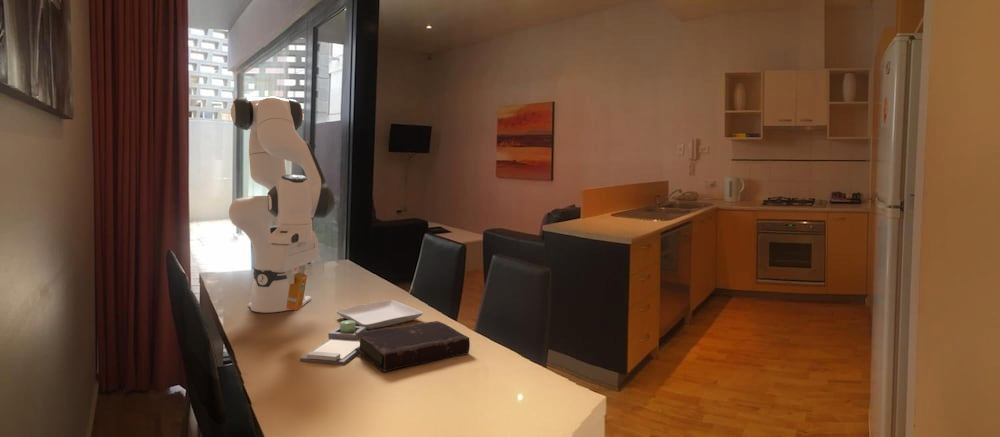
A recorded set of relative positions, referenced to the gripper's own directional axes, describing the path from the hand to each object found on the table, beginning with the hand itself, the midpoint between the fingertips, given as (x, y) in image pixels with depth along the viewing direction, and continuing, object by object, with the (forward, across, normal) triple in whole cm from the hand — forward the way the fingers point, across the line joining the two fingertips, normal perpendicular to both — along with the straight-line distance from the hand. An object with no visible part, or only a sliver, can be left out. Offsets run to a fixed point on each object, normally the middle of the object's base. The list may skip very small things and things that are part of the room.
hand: (296, 281), depth 154 cm
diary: (+16, +4, +36) cm, 39 cm away
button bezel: (+17, -6, +13) cm, 22 cm away
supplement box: (+8, 0, -1) cm, 8 cm away
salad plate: (+18, -24, +15) cm, 34 cm away
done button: (+16, -6, +13) cm, 21 cm away
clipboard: (+17, +7, +16) cm, 24 cm away
